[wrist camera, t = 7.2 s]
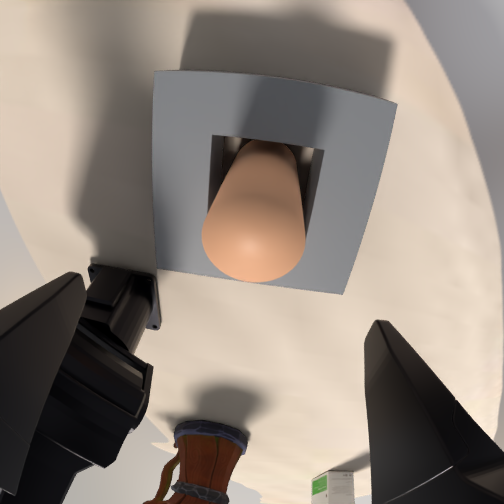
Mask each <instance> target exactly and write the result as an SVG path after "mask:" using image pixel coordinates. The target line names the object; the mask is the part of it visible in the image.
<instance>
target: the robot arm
mask: <svg viewBox="0 0 504 504" xmlns="http://www.w3.org/2000/svg"><path fill="white" fill-rule="evenodd" d="M93 269H94V270H93ZM88 273H89V277H90V281H91V284H90V286H89V287H88V289H87V290H86V289H85V285H84V281H83V278H82V275H81V274H79V273H75V272H68V273H66V274H64V275H62V276H60V277H58V278H56V279H54V280H52V281H51V282H49V283H47V284H45V285H43V286H41V287H40V288H38V289H36V290H34V291H32V292H31V293H29V294H27V295H25V296H23V297H22V298H20V299H18V300H16V301H15V302H13V303H11V304H9V305H8V306H6V307H4V308H2V309H1V310H0V504H62V503H63V501H64V499H65V496H66V494H67V492H68V490H69V488H70V486H71V484H72V482H73V480H74V477H75V476H76V474H77V473H79V472H81V471H83V470H85V469H87V468H89V467H91V466H93V465H96V466H98V467H101V468H106V467H107V466H109V465H110V464H112V463H113V462H114V461H115V460H116V458H117V455H118V453H119V451H120V448H121V446H122V444H123V442H124V440H125V438H126V436H127V434H129V433H132V432H133V431H134V430H135V429H136V428H137V427H138V425H139V424H140V422H141V421H142V419H143V417H144V415H145V413H146V410H147V407H148V403H149V396H150V388H151V381H152V374H153V366H152V365H150V364H149V363H145V362H144V361H142V360H141V359H139V358H138V357H136V356H135V355H134V353H135V350H136V348H137V346H138V343H139V341H140V339H141V337H142V334H143V332H144V330H145V328H147V329H152V330H159V329H160V326H161V322H160V314H159V306H158V297H157V288H156V279H155V277H154V276H153V275H152V274H149V273H143V272H137V271H131V270H126V269H120V268H115V267H109V266H104V265H98V264H90V265H89V267H88ZM148 279H150V280H151V281H149V280H148ZM364 365H365V398H366V408H367V419H368V431H369V445H370V462H371V489H372V504H504V452H503V451H502V450H501V449H500V448H499V447H498V445H496V443H495V442H494V441H493V440H492V439H491V438H490V437H489V436H488V435H487V434H486V433H485V432H484V431H483V430H482V429H481V427H480V426H479V425H478V424H477V423H476V422H475V421H474V420H473V419H472V417H471V416H470V415H469V414H468V413H467V412H466V410H465V409H464V408H463V407H462V406H461V404H460V403H459V402H458V401H457V400H455V397H454V396H453V395H452V393H451V392H450V391H449V390H448V389H447V387H446V386H445V385H444V384H443V383H442V381H441V380H440V379H439V378H438V377H437V376H436V374H435V373H434V372H433V371H432V370H431V369H430V367H429V366H428V365H427V364H426V363H425V362H424V360H423V359H422V358H421V357H420V356H419V355H418V353H417V352H416V351H415V350H414V349H413V348H412V347H411V345H410V344H409V343H408V342H407V341H406V340H405V339H404V338H403V336H402V335H401V334H400V333H399V332H398V331H397V330H396V329H395V328H394V326H393V325H392V324H391V323H390V322H389V321H386V320H375V321H374V323H373V324H372V326H371V328H370V330H369V332H368V334H367V336H366V338H365V342H364Z"/></svg>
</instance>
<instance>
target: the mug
mask: <svg viewBox="0 0 504 504" xmlns="http://www.w3.org/2000/svg"><path fill="white" fill-rule="evenodd" d="M174 439H175V443H174V448H178V449H179V450H178V453H177V455H176V456H175V457H174V458H173V459H171V460H170V461H169V462H168V463H167V464H166V465H165V466H164V468H163V471H162V474H161V481H160V486H159V489H158V491H157V494H156V496H155V498H154V499H153V500H151V501H146V502H144V503H143V504H228V503H229V498H228V496H227V494H226V491H227V486H228V482H229V480H230V477H231V474H232V472H233V470H234V468H235V465H236V463H237V462H238V460H239V458H240V456H241V455H244V454H245V452H246V449H247V444H248V442H247V439H246V437H245V436H244V435H243V434H242V433H241V432H240V431H239V430H237V429H234V428H231V427H228V426H226V425H223V424H218V423H213V422H208V421H204V420H202V421H187V422H184V423H182V424H180V425H178V426H176V428H175V431H174ZM179 463H180V474H179V480H177V482H176V483H175V485H173V486H171V489H172V490H174V491H175V493H174V494H173V495H172V497H171V498H170V499H169V500H166V501H163V499H164V497H165V496H166V494H167V492H168V490H169V487H170V484H171V480H172V474H173V470H174V469H175V467H176V466H177V465H178V464H179Z"/></svg>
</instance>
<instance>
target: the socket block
mask: <svg viewBox="0 0 504 504" xmlns="http://www.w3.org/2000/svg"><path fill="white" fill-rule="evenodd" d="M396 109H397V104H396V103H394V102H391V101H388V100H385V99H382V98H379V97H376V96H372V95H369V94H365V93H361V92H357V91H352V90H348V89H344V88H339V87H334V86H329V85H324V84H319V83H314V82H308V81H302V80H296V79H290V78H283V77H275V76H267V75H259V74H249V73H238V72H225V71H207V70H165V71H154V88H153V114H152V188H153V215H154V234H155V249H156V262H157V268H158V269H164V270H170V271H176V272H183V273H189V274H196V275H202V276H209V277H215V278H222V279H229V280H236V281H241V280H238V279H235V278H232V277H230V276H228V275H226V274H225V273H223V272H222V271H220V270H219V269H218V268H217V267H216V266H215V265H214V264H213V263H212V262H211V261H210V259H209V258H208V256H207V254H206V252H205V250H204V247H203V243H202V227H203V223H204V221H205V218H206V216H207V214H208V212H209V210H210V208H211V206H212V204H213V202H214V200H215V198H216V195H217V193H218V191H219V189H220V184H221V170H222V158H223V145H224V136H231V137H240V138H249V139H257V140H265V141H272V142H279V143H286V144H292V145H299V146H305V147H311V148H314V151H313V156H312V162H311V167H310V173H309V178H308V183H307V188H306V193H305V198H304V203H303V208H302V211H303V219H304V228H305V249H304V252H303V255H302V257H301V259H300V260H299V262H298V263H297V265H296V266H295V267H294V268H293V269H292V270H291V271H290V272H288V273H287V274H285V275H284V276H282V277H280V278H277V279H274V280H271V281H267V282H250V283H257V284H264V285H271V286H278V287H286V288H293V289H301V290H309V291H317V292H325V293H333V294H341V295H343V293H344V290H345V287H346V285H347V282H348V279H349V276H350V273H351V271H352V268H353V265H354V262H355V259H356V256H357V253H358V250H359V247H360V244H361V241H362V238H363V235H364V231H365V228H366V225H367V222H368V219H369V215H370V212H371V209H372V205H373V202H374V198H375V195H376V191H377V188H378V184H379V180H380V177H381V173H382V169H383V165H384V161H385V157H386V153H387V149H388V145H389V141H390V136H391V132H392V128H393V123H394V119H395V114H396ZM243 282H246V281H243Z"/></svg>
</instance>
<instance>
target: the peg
mask: <svg viewBox="0 0 504 504" xmlns="http://www.w3.org/2000/svg"><path fill="white" fill-rule="evenodd" d="M202 243H203V247H204V250H205V252H206V254H207V256H208V258H209V259H210V261H211V262H212V263H213V264H214V265H215V266H216V267H217V268H218V269H219V270H220V271H222V272H223V273H225V274H226V275H228V276H230V277H232V278H235V279H238V280H241V281H246V282H267V281H271V280H274V279H277V278H280V277H282V276H284V275H285V274H287V273H288V272H290V271H291V270H292V269H293V268H294V267H295V266H296V265H297V263H298V262H299V260H300V259H301V257H302V255H303V252H304V249H305V228H304V219H303V211H302V202H301V194H300V187H299V179H298V171H297V164H296V160H295V157H294V155H293V153H292V152H291V151H290V149H289V148H288V147H287V146H285V145H284V144H283V143H279V142H272V141H265V140H257V139H256V140H253V141H251V142H249V143H247V144H246V145H244V146H243V147H242V148H241V149H240V151H239V152H238V154H237V156H236V158H235V160H234V162H233V163H232V165H231V167H230V169H229V171H228V173H227V175H226V177H225V179H224V181H223V183H222V185H221V187H220V189H219V191H218V193H217V195H216V198H215V200H214V202H213V204H212V206H211V208H210V210H209V212H208V214H207V216H206V218H205V221H204V223H203V227H202Z"/></svg>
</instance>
